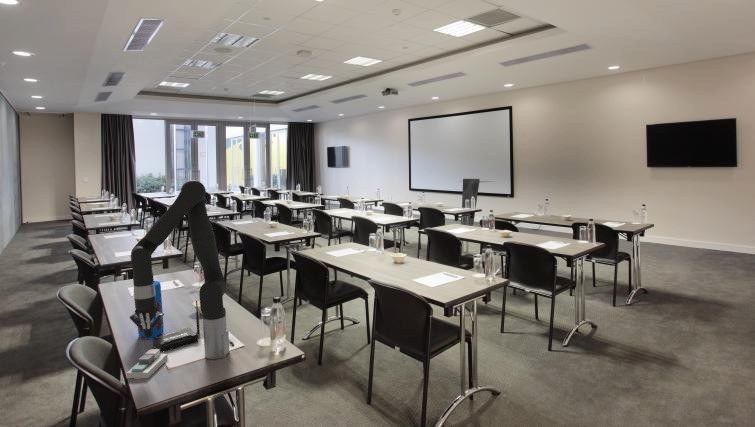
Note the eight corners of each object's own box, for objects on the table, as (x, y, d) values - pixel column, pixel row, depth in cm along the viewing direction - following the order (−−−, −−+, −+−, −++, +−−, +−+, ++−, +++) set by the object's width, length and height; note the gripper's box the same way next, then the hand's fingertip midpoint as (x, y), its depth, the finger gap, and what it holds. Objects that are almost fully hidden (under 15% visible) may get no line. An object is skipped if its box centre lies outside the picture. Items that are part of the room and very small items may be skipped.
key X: (154, 361, 175) (153, 354, 174) (149, 366, 171) (148, 359, 170) (144, 361, 175) (143, 354, 174) (139, 366, 171) (138, 359, 170)
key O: (148, 371, 170) (147, 364, 170) (142, 376, 166) (142, 368, 166) (137, 371, 170) (137, 364, 169) (132, 376, 166) (131, 369, 166)
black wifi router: (162, 354, 186) (160, 316, 184) (151, 344, 196) (149, 308, 194) (208, 340, 200) (206, 305, 198) (196, 332, 210) (194, 298, 208)
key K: (160, 356, 180) (159, 349, 179) (155, 360, 176) (154, 353, 175) (150, 356, 180) (150, 349, 179) (145, 360, 176) (145, 353, 175)
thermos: (150, 340, 200) (146, 288, 196) (133, 337, 203) (129, 286, 200) (169, 331, 210) (165, 281, 207) (151, 329, 213) (148, 280, 210)
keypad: (167, 359, 181) (167, 353, 181) (148, 378, 165) (147, 372, 165) (148, 359, 181) (148, 353, 180) (127, 378, 165) (126, 372, 165)
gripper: (166, 291, 175) (169, 332, 177) (132, 292, 174) (136, 333, 177) (157, 297, 168) (161, 340, 170) (122, 298, 167) (127, 341, 169)
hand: (148, 336), depth 173 cm, fingers closed
